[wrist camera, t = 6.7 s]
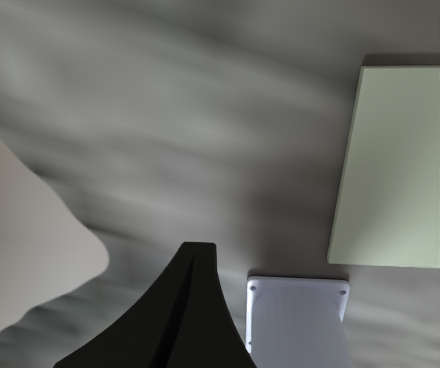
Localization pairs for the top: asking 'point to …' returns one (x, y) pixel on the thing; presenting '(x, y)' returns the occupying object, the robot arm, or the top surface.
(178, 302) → the robot arm
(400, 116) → the base board
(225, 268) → the top surface
